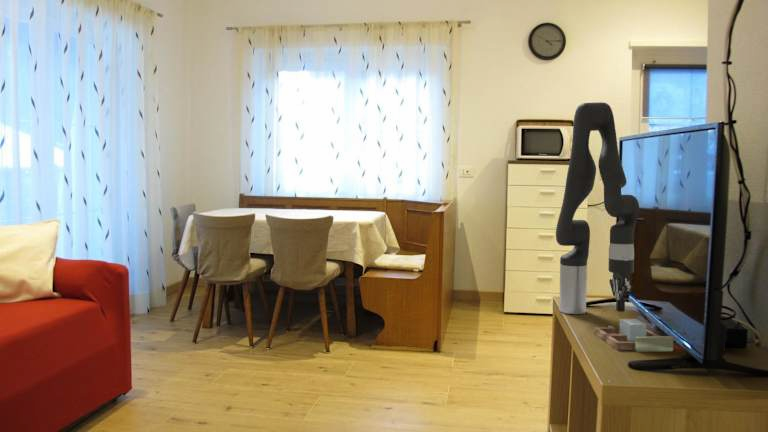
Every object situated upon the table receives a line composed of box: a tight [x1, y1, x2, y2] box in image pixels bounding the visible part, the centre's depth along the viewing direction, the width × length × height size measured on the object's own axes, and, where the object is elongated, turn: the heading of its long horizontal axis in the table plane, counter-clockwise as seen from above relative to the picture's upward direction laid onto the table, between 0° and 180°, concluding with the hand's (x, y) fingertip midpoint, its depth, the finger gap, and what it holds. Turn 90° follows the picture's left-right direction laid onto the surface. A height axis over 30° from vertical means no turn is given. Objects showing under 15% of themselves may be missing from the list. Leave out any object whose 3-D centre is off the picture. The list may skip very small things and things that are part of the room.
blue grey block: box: [618, 318, 648, 342], centre depth 182 cm, size 7×5×5 cm
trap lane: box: [594, 325, 674, 353], centre depth 178 cm, size 20×15×4 cm
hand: (620, 311), depth 190 cm, fingers closed
